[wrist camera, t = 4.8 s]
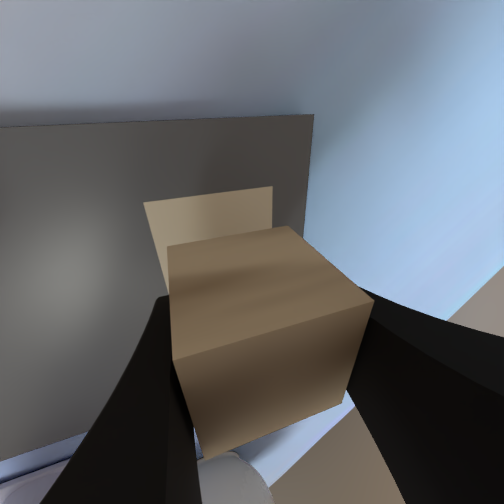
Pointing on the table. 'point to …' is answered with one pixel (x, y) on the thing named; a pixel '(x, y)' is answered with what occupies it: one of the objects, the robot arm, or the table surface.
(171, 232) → the plate
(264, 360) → the maple block
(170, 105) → the table surface
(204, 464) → the lidded bowl
